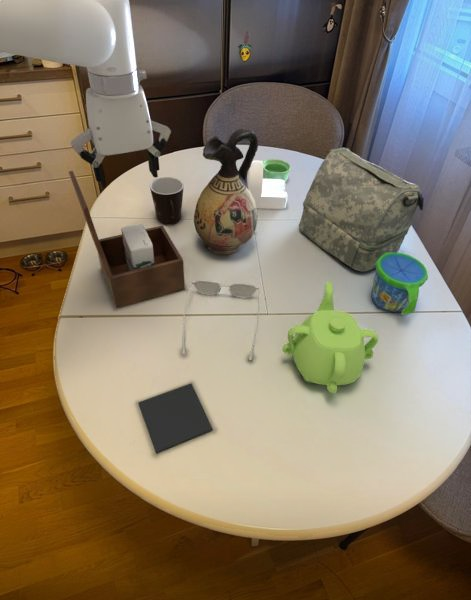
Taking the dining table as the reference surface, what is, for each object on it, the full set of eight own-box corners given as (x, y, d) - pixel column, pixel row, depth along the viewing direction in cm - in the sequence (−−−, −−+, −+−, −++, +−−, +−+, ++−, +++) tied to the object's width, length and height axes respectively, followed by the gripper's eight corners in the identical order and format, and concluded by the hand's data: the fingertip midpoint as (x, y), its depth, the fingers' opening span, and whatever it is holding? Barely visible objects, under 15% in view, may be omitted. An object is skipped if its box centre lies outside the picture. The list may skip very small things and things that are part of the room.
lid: (72, 170, 79) (68, 171, 79) (87, 207, 71) (83, 208, 71) (96, 237, 92) (92, 239, 91) (111, 276, 83) (107, 277, 83)
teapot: (267, 351, 84) (274, 308, 75) (317, 321, 90) (329, 278, 81) (325, 410, 75) (340, 369, 66) (375, 372, 81) (396, 330, 72)
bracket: (282, 190, 128) (287, 155, 119) (286, 209, 120) (292, 172, 112) (220, 188, 127) (221, 152, 118) (220, 207, 119) (221, 170, 111)
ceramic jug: (207, 270, 100) (208, 150, 79) (186, 233, 110) (181, 118, 88) (270, 254, 106) (287, 138, 84) (244, 221, 115) (253, 109, 94)
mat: (156, 453, 68) (155, 452, 67) (138, 404, 74) (138, 402, 73) (212, 430, 71) (212, 428, 71) (191, 384, 77) (191, 382, 77)
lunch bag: (409, 259, 107) (444, 182, 92) (359, 283, 99) (388, 204, 84) (339, 209, 122) (359, 135, 106) (291, 227, 114) (305, 150, 99)
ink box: (126, 268, 98) (119, 226, 89) (147, 263, 99) (142, 221, 91) (136, 292, 92) (129, 250, 84) (158, 286, 94) (153, 244, 86)
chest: (165, 254, 103) (162, 225, 97) (184, 289, 95) (183, 260, 89) (101, 270, 98) (94, 240, 92) (116, 309, 90) (109, 278, 83)
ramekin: (258, 171, 135) (259, 158, 132) (285, 171, 136) (287, 158, 133) (262, 186, 129) (264, 173, 126) (291, 185, 130) (293, 172, 127)
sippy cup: (421, 327, 90) (440, 293, 83) (374, 326, 90) (389, 292, 83) (399, 279, 102) (414, 245, 94) (357, 277, 101) (369, 244, 94)
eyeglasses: (258, 297, 94) (260, 284, 91) (255, 362, 82) (257, 349, 79) (190, 291, 94) (190, 278, 92) (177, 355, 82) (176, 342, 79)
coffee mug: (158, 207, 118) (155, 175, 110) (188, 211, 117) (186, 179, 110) (146, 231, 109) (142, 198, 102) (178, 235, 109) (176, 202, 102)
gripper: (159, 68, 71) (166, 161, 83) (53, 78, 65) (77, 177, 78) (173, 83, 67) (179, 180, 79) (61, 95, 61) (86, 198, 73)
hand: (128, 178), depth 78 cm, fingers open, 9 cm apart
